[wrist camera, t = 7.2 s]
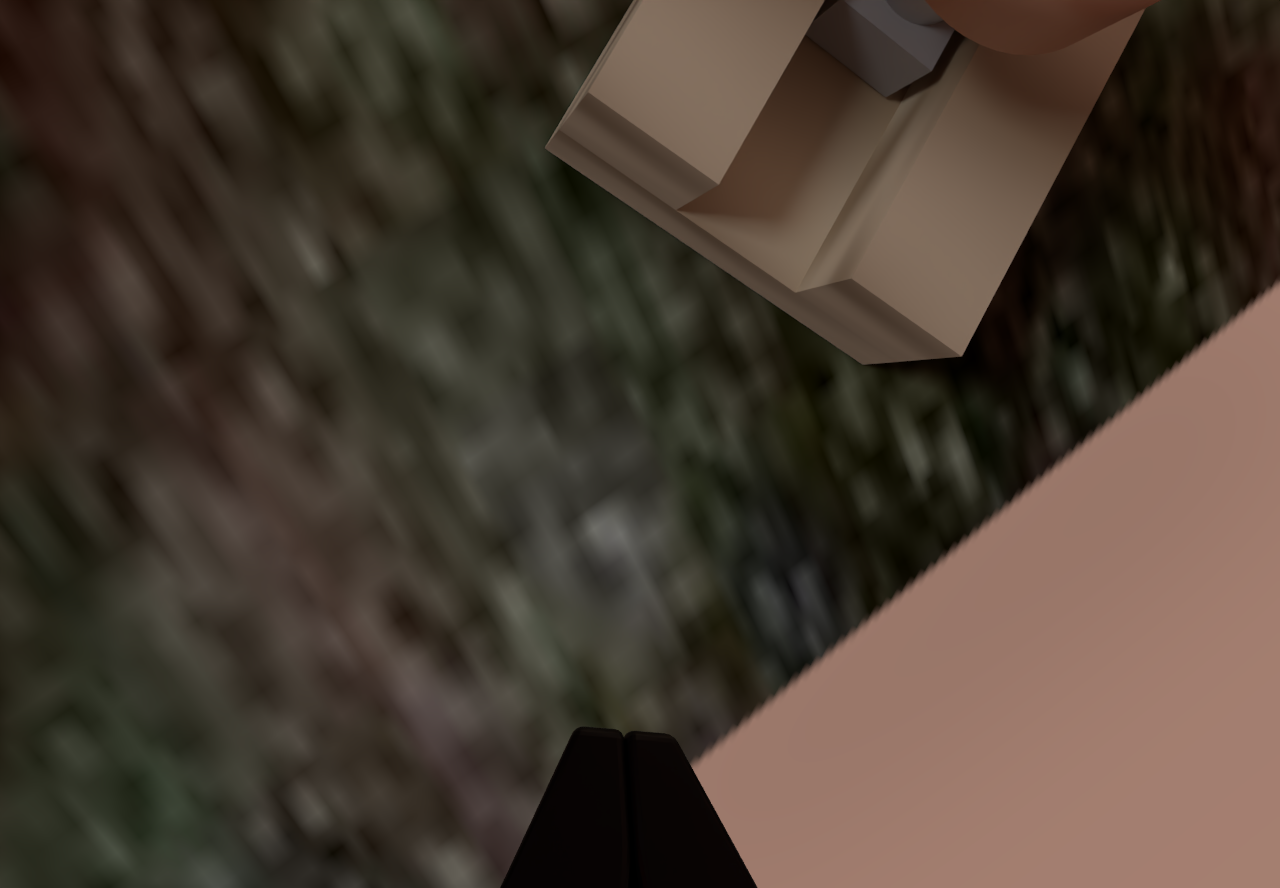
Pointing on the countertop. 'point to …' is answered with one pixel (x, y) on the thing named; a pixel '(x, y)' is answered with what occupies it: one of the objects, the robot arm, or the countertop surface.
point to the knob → (951, 31)
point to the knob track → (834, 162)
